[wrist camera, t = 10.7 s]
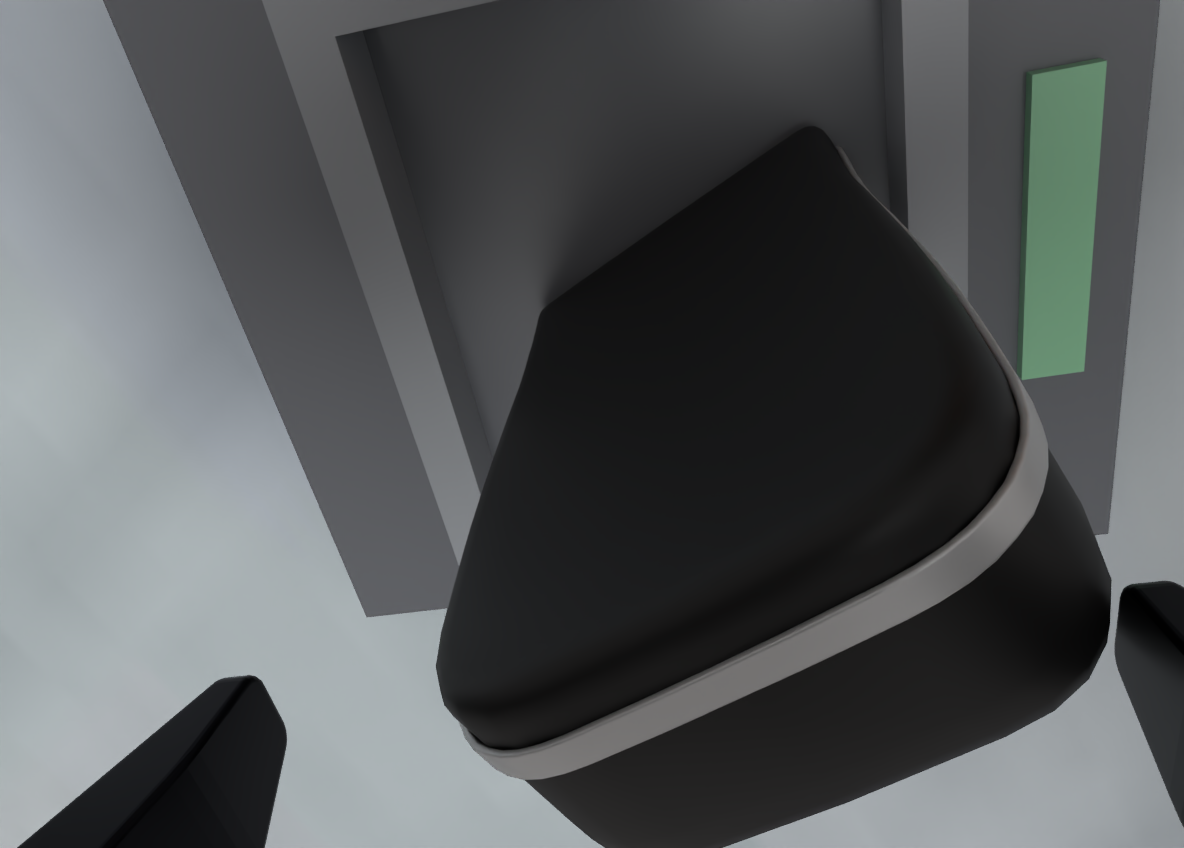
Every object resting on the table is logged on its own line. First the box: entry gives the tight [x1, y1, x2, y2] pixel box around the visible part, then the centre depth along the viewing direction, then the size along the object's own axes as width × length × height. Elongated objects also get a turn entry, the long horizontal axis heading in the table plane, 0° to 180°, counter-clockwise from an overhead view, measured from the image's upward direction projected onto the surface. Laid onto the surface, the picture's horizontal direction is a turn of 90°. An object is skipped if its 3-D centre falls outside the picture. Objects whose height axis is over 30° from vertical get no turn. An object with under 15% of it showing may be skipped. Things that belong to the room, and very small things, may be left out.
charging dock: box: [103, 0, 1160, 617], centre depth 18 cm, size 18×15×2 cm
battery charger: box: [436, 126, 1111, 848], centre depth 13 cm, size 7×4×11 cm, turn 127°
